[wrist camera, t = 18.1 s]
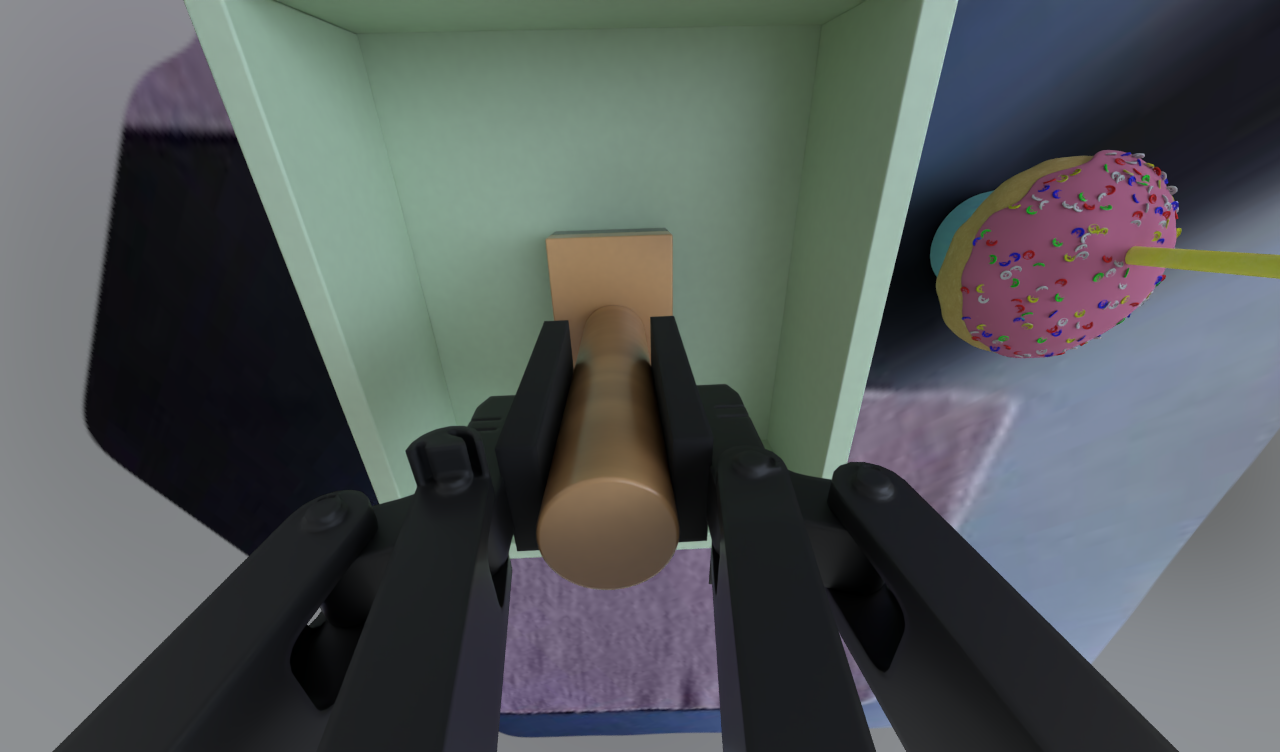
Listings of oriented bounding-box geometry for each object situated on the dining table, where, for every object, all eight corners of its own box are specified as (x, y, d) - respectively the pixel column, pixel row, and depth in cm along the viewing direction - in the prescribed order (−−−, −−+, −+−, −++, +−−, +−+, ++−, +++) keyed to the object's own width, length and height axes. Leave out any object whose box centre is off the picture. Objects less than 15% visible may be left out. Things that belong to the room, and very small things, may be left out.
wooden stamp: (554, 231, 20) (417, 330, 6) (665, 227, 20) (764, 317, 7) (570, 392, 23) (501, 691, 10) (666, 388, 23) (734, 676, 10)
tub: (336, 8, 18) (149, -81, 11) (839, -1, 18) (980, -91, 11) (456, 457, 28) (402, 565, 21) (775, 442, 28) (828, 542, 21)
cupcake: (995, 110, 20) (1410, 76, 10) (1097, 217, 23) (1517, 283, 12) (858, 269, 23) (1058, 376, 13) (960, 348, 26) (1200, 492, 15)
